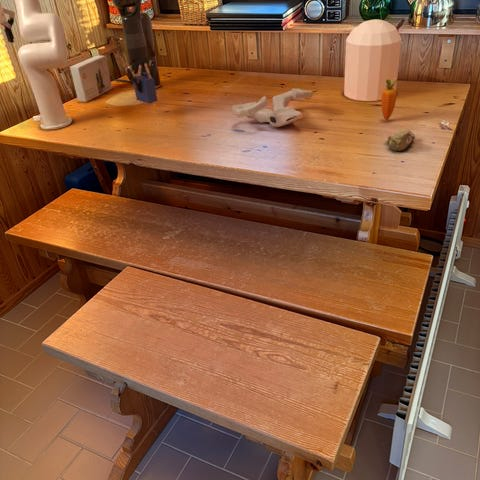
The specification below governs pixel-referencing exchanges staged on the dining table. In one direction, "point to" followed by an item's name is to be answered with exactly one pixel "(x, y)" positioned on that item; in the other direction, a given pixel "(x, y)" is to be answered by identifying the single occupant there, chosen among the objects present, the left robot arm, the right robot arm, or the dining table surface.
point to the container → (371, 60)
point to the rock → (400, 140)
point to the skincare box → (91, 78)
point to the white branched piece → (280, 112)
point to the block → (146, 90)
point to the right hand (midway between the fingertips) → (145, 90)
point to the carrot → (388, 99)
